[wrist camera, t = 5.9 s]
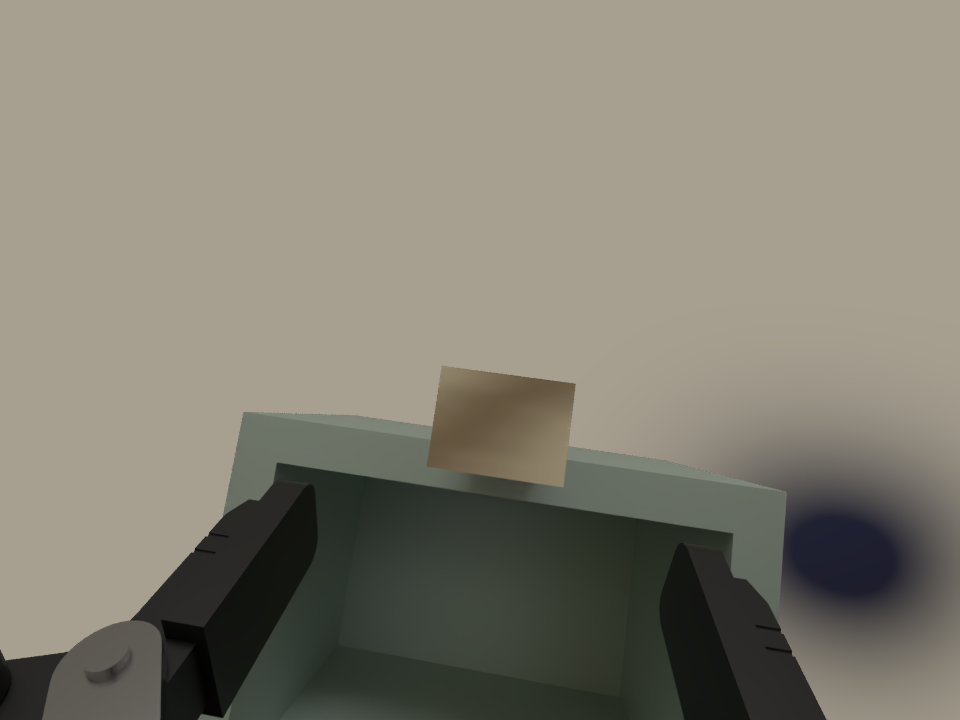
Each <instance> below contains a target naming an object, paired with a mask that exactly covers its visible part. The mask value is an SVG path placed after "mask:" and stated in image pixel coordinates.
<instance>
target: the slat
mask: <svg viewBox="0 0 960 720" xmlns="http://www.w3.org/2000/svg"><path fill="white" fill-rule="evenodd" d="M574 393H575V384H573V383H565V382H558V381H551V380H543V379H536V378H529V377H521V376H514V375H506V374H498V373H491V372H483V371H477V370H468V369H461V368H454V367H447V366H442V369H441V375H440V382H439V388H438V395H437V401H436V408H435V415H434V421H433V428H432V434H431V441H430V448H429V454H428V461H427V467H432V468H439V469H445V470H452V471H459V472H465V473H472V474H478V475H485V476H491V477H498V478H504V479H511V480H518V481H524V482H531V483H537V484H544V485H550V486H557V487H564V478H565V470H566V461H567V453H568V443H569V435H570V427H571V419H572V410H573V402H574Z"/></svg>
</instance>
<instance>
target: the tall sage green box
mask: <svg viewBox="0 0 960 720" xmlns="http://www.w3.org/2000/svg"><path fill="white" fill-rule="evenodd" d="M432 428H433V427H431V426H424V425H417V424H410V423H403V422H396V421H390V420H383V419H376V418H369V417H362V416H353V415H322V414H290V413H256V412H244V413H243V418H242V422H241V427H240V432H239V438H238V443H237V448H236V453H235V458H234V463H233V468H232V473H231V478H230V483H229V489H228V493H227V499H226V503H225V508H224V513H223V516H224V515H225V514H226V513H228V512H229V511H231V510H233V509H234V508H236V507H237V506H239V505H241V504H242V503H244V502H245V501H247V500H249V499H251V500H258V501H259V500H260V499H261V498H262V496H263V495H264V494H265V493H266V492H267V490H268V489H269V488H270V487H271V486H272V484H273V483H274V482H275V481H277V480H287V481H293V482H300V483H306V484H312V485H313V486H314V489H315V498H316V513H317V528H318V542H317V548H316V552H315V555H314V558H313V561H312V563H311V565H310V567H309V569H308V570H307V572H306V574H305V576H304V577H303V579H302V581H301V583H300V584H299V586H298V588H297V590H296V591H295V593H294V595H293V597H292V598H291V600H290V602H289V604H288V605H287V607H286V609H285V611H284V612H283V614H282V616H281V618H280V619H279V621H278V623H277V625H276V626H275V628H274V630H273V632H272V633H271V635H270V637H269V639H268V640H267V642H266V644H265V646H264V647H263V649H262V651H261V653H260V654H259V656H258V658H257V660H256V661H255V663H254V665H253V667H252V668H251V670H250V672H249V674H248V675H247V677H246V679H245V681H244V682H243V684H242V686H241V688H240V689H239V691H238V693H237V695H236V696H235V698H234V700H233V702H232V703H231V705H230V707H229V709H228V710H227V712H226V714H225V716H224V717H223V718H219V717H214V716H208V715H203V714H201V716H200V717H199V719H198V720H684V717H683V713H682V709H681V705H680V701H679V697H678V693H677V689H676V685H675V680H674V676H673V672H672V668H671V664H670V660H669V656H668V652H667V648H666V644H665V640H664V636H663V632H662V628H661V624H660V614H659V605H660V597H661V592H662V589H663V586H664V583H665V580H666V577H667V574H668V571H669V568H670V565H671V562H672V559H673V556H674V553H675V550H676V548H677V546H678V545H679V544H680V543H687V544H693V545H700V546H706V547H713V548H718V549H719V550H721V552H722V553H723V555H724V557H725V559H726V561H727V564H728V566H729V568H730V570H731V572H732V575H733V577H734V578H741V579H746V580H747V581H748V582H749V583H750V584H751V585H752V586H753V587H754V588H755V589H756V591H757V592H758V593H759V594H760V595H761V596H762V597H763V598H764V599H765V600H766V601H767V603H768V604H769V606H770V608H771V610H772V612H773V614H774V616H775V618H776V620H777V622H778V616H779V602H780V601H779V600H780V587H781V570H782V556H783V539H784V524H785V508H786V493H787V492H784V491H780V490H777V489H773V488H769V487H765V486H761V485H757V484H753V483H749V482H746V481H742V480H738V479H734V478H730V477H727V476H723V475H718V474H715V473H711V472H707V471H704V470H699V469H696V468H692V467H688V466H684V465H681V464H677V463H673V462H669V461H665V460H659V459H652V458H645V457H637V456H631V455H624V454H617V453H610V452H603V451H597V450H590V449H583V448H576V447H569V446H568V453H567V461H566V470H565V478H564V487H557V486H550V485H544V484H537V483H531V482H524V481H518V480H511V479H504V478H498V477H491V476H485V475H478V474H472V473H465V472H459V471H452V470H445V469H439V468H432V467H427V461H428V454H429V448H430V441H431V434H432Z"/></svg>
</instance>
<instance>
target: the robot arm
mask: <svg viewBox="0 0 960 720" xmlns="http://www.w3.org/2000/svg"><path fill="white" fill-rule="evenodd" d="M317 542H318V528H317V513H316V498H315V489H314V486H313V485H312V484H306V483H300V482H293V481H287V480H277V481H275V482H274V483H273V484H272V486H271V487H270V488H269V489H268V490H267V492H266V493H265V494H264V495H263V496H262V498H261V499H260V500H259V501H258V500H251V499H249V500H247V501H245V502H244V503H242V504H241V505H239V506H237V507H236V508H234V509H233V510H231V511H229V512H228V513H226V514H225V515H224V516H223V518H222V519H221V520H220V521H219V522H218V523H217V524H216V525H215V527H214V528H213V529H212V530H211V531H210V532H209V535H208V537H205V538H204V539H203V540H202V541H201V542H200V543H199V544H198V546H197V547H196V548H195V551H194V553H190V555H189V556H188V557H187V558H186V559H185V560H184V561H183V562H182V564H181V565H180V566H179V567H178V568H177V569H176V570H175V571H174V573H173V574H172V575H171V576H170V577H169V578H168V579H167V580H166V582H165V583H164V584H163V585H162V586H161V587H160V588H159V589H158V591H157V592H156V593H155V594H154V595H153V596H152V597H151V598H150V600H149V601H148V602H147V603H146V604H145V605H144V606H143V607H142V608H141V610H140V611H139V612H138V613H137V614H136V615H135V616H134V617H133V618H132V619H131V620H130V621H125V622H120V623H116V624H112V625H110V626H107V627H105V628H103V629H100V630H98V631H97V632H94V633H93V634H91V635H90V636H88V637H86V638H85V639H83V640H82V641H81V642H79V643H78V644H77V645H75V646H74V647H73V648H72V649H71V650H70V651H69V652H65V653H58V654H50V655H43V656H35V657H28V658H21V659H13V660H6V661H5V659H4V657H3V654H2V653H1V650H0V720H198V719H199V717H200V716H201V714H203V715H208V716H214V717H219V718H223V717H224V716H225V714H226V712H227V710H228V709H229V707H230V705H231V703H232V702H233V700H234V698H235V696H236V695H237V693H238V691H239V689H240V688H241V686H242V684H243V682H244V681H245V679H246V677H247V675H248V674H249V672H250V670H251V668H252V667H253V665H254V663H255V661H256V660H257V658H258V656H259V654H260V653H261V651H262V649H263V647H264V646H265V644H266V642H267V640H268V639H269V637H270V635H271V633H272V632H273V630H274V628H275V626H276V625H277V623H278V621H279V619H280V618H281V616H282V614H283V612H284V611H285V609H286V607H287V605H288V604H289V602H290V600H291V598H292V597H293V595H294V593H295V591H296V590H297V588H298V586H299V584H300V583H301V581H302V579H303V577H304V576H305V574H306V572H307V570H308V569H309V567H310V565H311V563H312V561H313V558H314V555H315V552H316V548H317ZM659 614H660V624H661V628H662V632H663V636H664V640H665V644H666V648H667V652H668V656H669V660H670V664H671V668H672V672H673V676H674V680H675V685H676V689H677V693H678V697H679V701H680V705H681V709H682V713H683V717H684V720H826V718H825V716H824V714H823V712H822V710H821V708H820V706H819V704H818V702H817V700H816V698H815V696H814V694H813V692H812V690H811V688H810V686H809V684H808V682H807V680H806V678H805V676H804V674H803V672H802V670H801V668H800V666H799V664H798V662H797V660H796V658H795V657H793V656H792V650H791V648H790V646H789V644H788V642H787V640H786V638H785V636H784V634H781V628H780V626H779V624H778V622H777V620H776V618H775V616H774V614H773V612H772V610H771V608H770V606H769V604H768V603H767V601H766V600H765V599H764V598H763V597H762V596H761V595H760V594H759V593H758V592H757V591H756V589H755V588H754V587H753V586H752V585H751V584H750V583H749V582H748V581H747V580H746V579H741V578H734V577H733V575H732V572H731V570H730V568H729V566H728V564H727V561H726V559H725V557H724V555H723V553H722V552H721V550H719V549H718V548H713V547H706V546H700V545H693V544H687V543H680V544H679V545H678V546H677V548H676V550H675V553H674V556H673V559H672V562H671V565H670V568H669V571H668V574H667V577H666V580H665V583H664V586H663V589H662V592H661V597H660V605H659Z"/></svg>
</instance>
